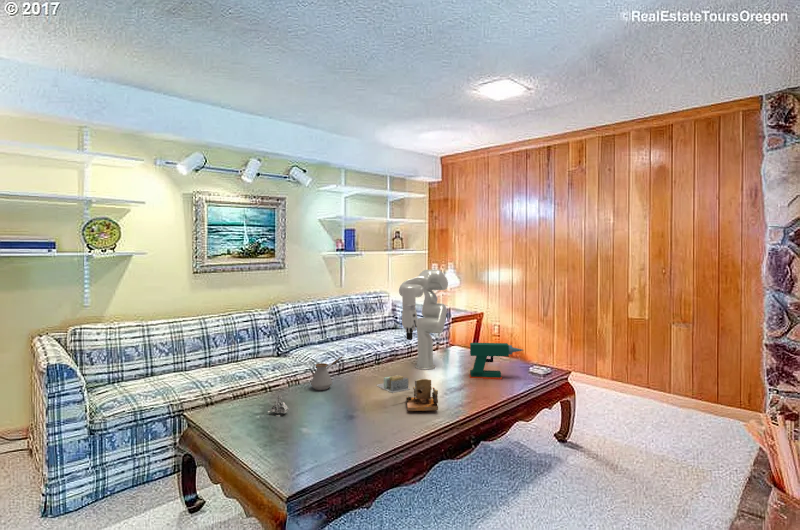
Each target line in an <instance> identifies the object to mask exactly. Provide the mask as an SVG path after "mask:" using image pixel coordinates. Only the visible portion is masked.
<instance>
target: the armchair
mask: <svg viewBox="0 0 800 530" xmlns="http://www.w3.org/2000/svg"><path fill="white" fill-rule="evenodd" d="M412 389H413V396H414V397H411V396H409V395H408V396H406V397H405V400H406V401H405V402H406V408H407V412H416V411H417V412H418V411H419V412H420V411H422V412H424V411H426V412H427V411H439V405H438V404H439V399H438V398H439V397H438V394H439V390H438V389H435V387H432V379H430V378H429V379H428V378H420V379H415V380H414V386H413V387H412Z"/></svg>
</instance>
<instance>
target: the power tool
mask: <svg viewBox="0 0 800 530" xmlns="http://www.w3.org/2000/svg"><path fill="white" fill-rule="evenodd" d="M522 351H524V349H521V348H517V347H513V345H512V344H510V345H509V344H508V342H506V343H505V342H504V343H503V342H470V343H469V354H470V355H469V356H471V357H475V359H474V364H473V367H472V369H470V370H469V374H468V376H469V379H470V378H483V379H482V380H501V379H502V380H503V377H502V373H501V370H488V369H487V370H486V369H485V365H486V363H494V357H509V356H510V355H511V356H512V355H513V353H517V352H522ZM487 357H490V358H487Z"/></svg>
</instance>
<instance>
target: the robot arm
mask: <svg viewBox="0 0 800 530" xmlns="http://www.w3.org/2000/svg"><path fill="white" fill-rule="evenodd" d="M448 287H449V281H448V278H447V276H446V275H445V274H444V273H443V271H441V269H424V270H422V271H421V272H420V273H419V275H417V276H415V277H412V278H409V279H406V280H405V281H403V282H402V283H401V284H400V285H399V287H398V288H399V289H398V292H399V295H400V296H401V297H402V302H401V303H402V313H401V326H402V327H403V329H404V331H405V333H406V335H405V336H406V337H405V338H406V340H408V341H411V340H413V337H414V336H413V333H414V331H416V333H417V335H416V336H417V359H415V361H414V362H415V363H416V364H415V365H414V367H416V368H415V369H417V368H418V369H417V370H421V369H422V370H423V371H427V370H428V371H429V369H430V370H433V369H436V365H435V364H434V363H433V362H434V359H433V357H434V353H433V352H434V349H433V347H434V345H433V344H434V342H433V337H432V334H442V333H443V331H444V328H445V323H446V318H447V312H448V311H447V310H448V309H447V306H446V304H444V303H438V296H437V294H436V293H435V292H434V291H445V290H447V288H448ZM423 295H424V299H423V304H422V308H421V316H423V317H419V318H418V313H417V312H418V311H417V310H416V308H417V307H416V305H417V304H416V298H420V297H421V298H422V296H423ZM422 370H421V371H422Z"/></svg>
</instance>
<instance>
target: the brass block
mask: <svg viewBox="0 0 800 530" xmlns="http://www.w3.org/2000/svg"><path fill="white" fill-rule="evenodd" d="M389 377H390V376H389ZM403 378H404V376H403V375H401V376H400V374H396V375H391V377H390V388H391V381H392V380H398V379H403Z"/></svg>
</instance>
